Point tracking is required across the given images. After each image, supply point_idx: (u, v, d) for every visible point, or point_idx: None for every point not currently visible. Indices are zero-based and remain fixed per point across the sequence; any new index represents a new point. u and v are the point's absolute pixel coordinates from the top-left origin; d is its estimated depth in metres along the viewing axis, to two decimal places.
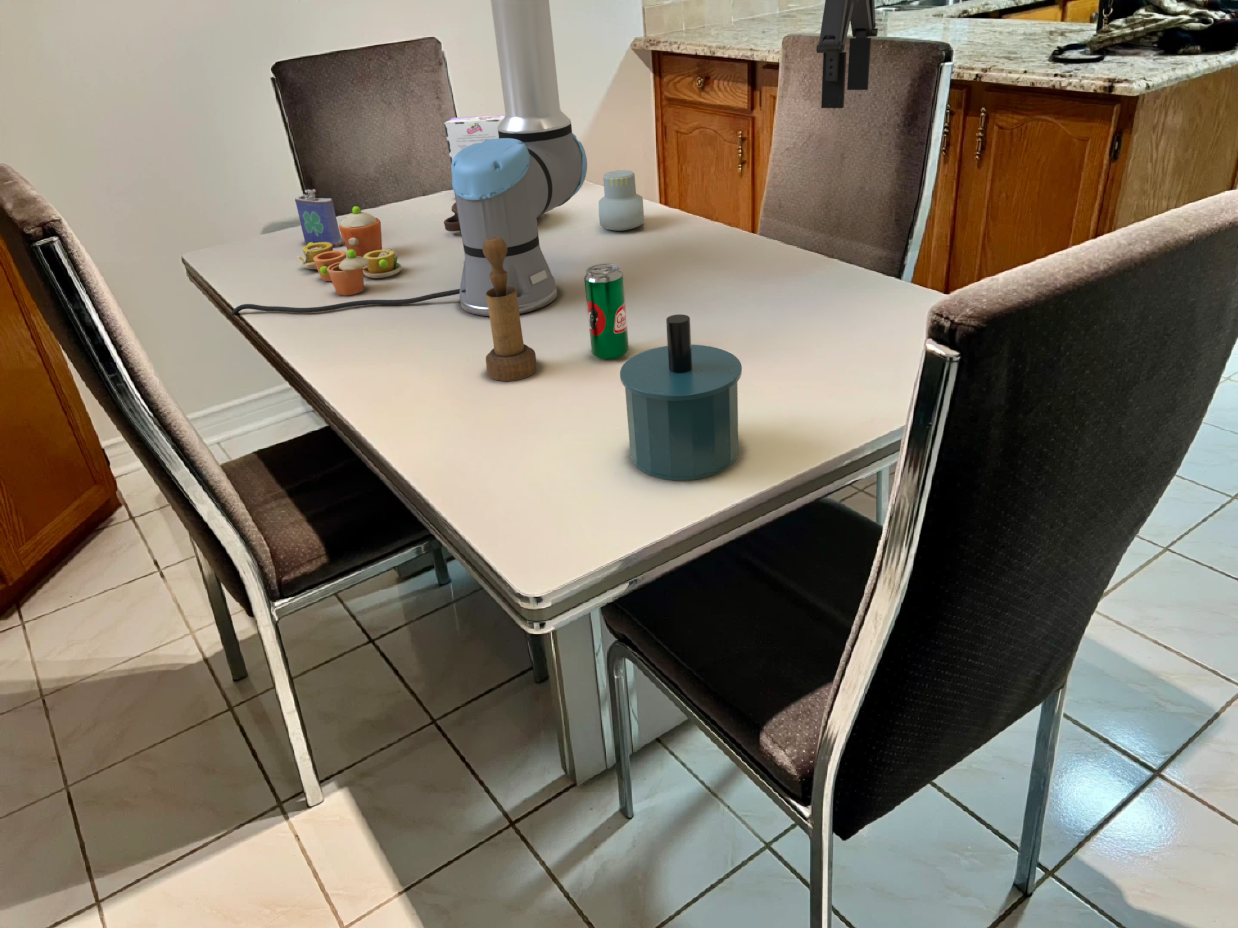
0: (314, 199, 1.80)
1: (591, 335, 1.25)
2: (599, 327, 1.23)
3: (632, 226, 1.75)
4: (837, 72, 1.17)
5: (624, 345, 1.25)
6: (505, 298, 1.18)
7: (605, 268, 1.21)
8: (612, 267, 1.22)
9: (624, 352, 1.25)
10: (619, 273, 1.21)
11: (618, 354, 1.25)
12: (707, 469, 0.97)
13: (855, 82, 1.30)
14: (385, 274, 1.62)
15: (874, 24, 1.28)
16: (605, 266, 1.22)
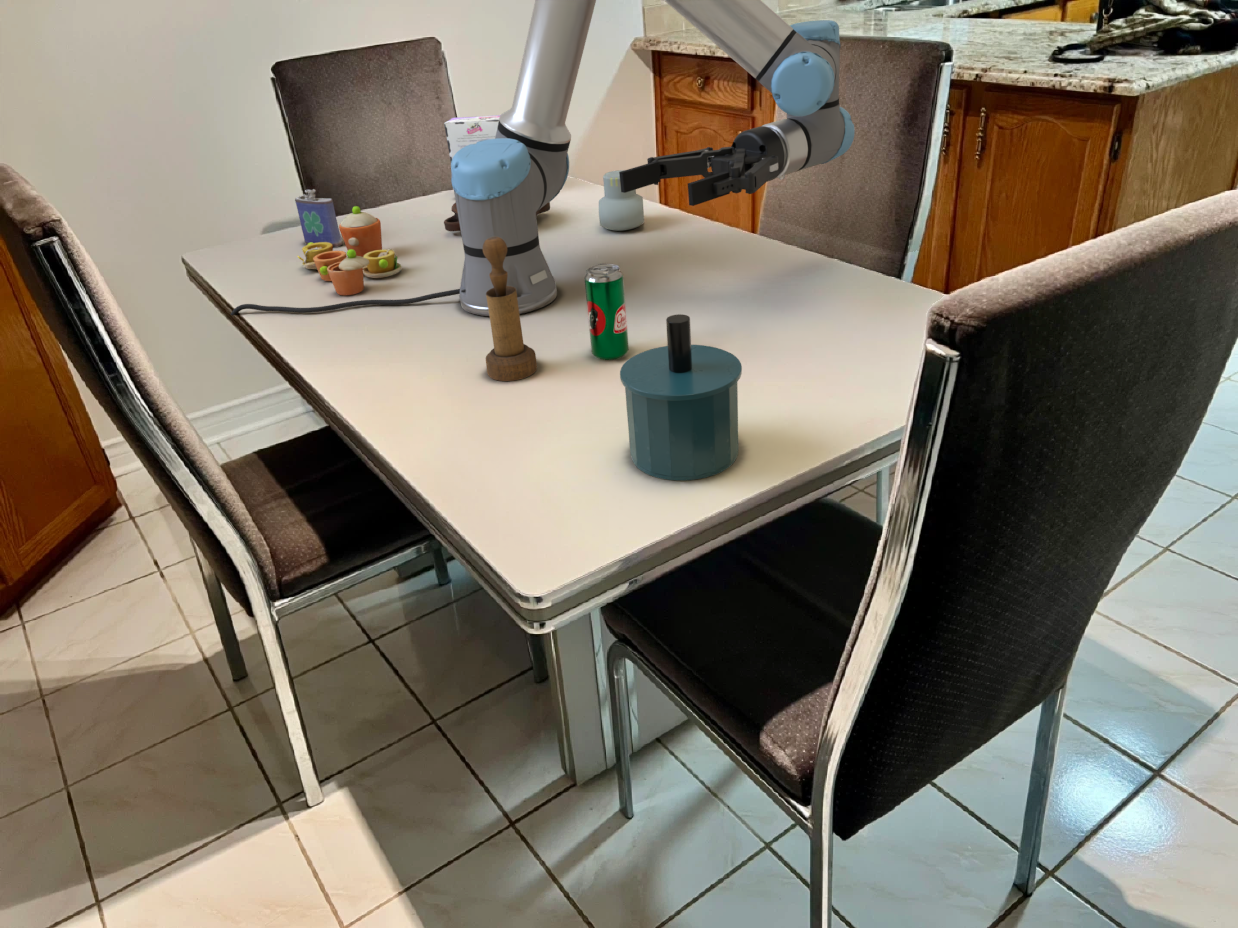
0: (314, 199, 1.80)
1: (591, 335, 1.25)
2: (599, 327, 1.23)
3: (632, 226, 1.75)
4: None
5: (624, 345, 1.25)
6: (505, 298, 1.18)
7: (605, 268, 1.21)
8: (612, 267, 1.22)
9: (624, 352, 1.25)
10: (619, 273, 1.21)
11: (618, 354, 1.25)
12: (707, 469, 0.97)
13: (628, 179, 1.27)
14: (385, 274, 1.62)
15: None
16: (605, 266, 1.22)
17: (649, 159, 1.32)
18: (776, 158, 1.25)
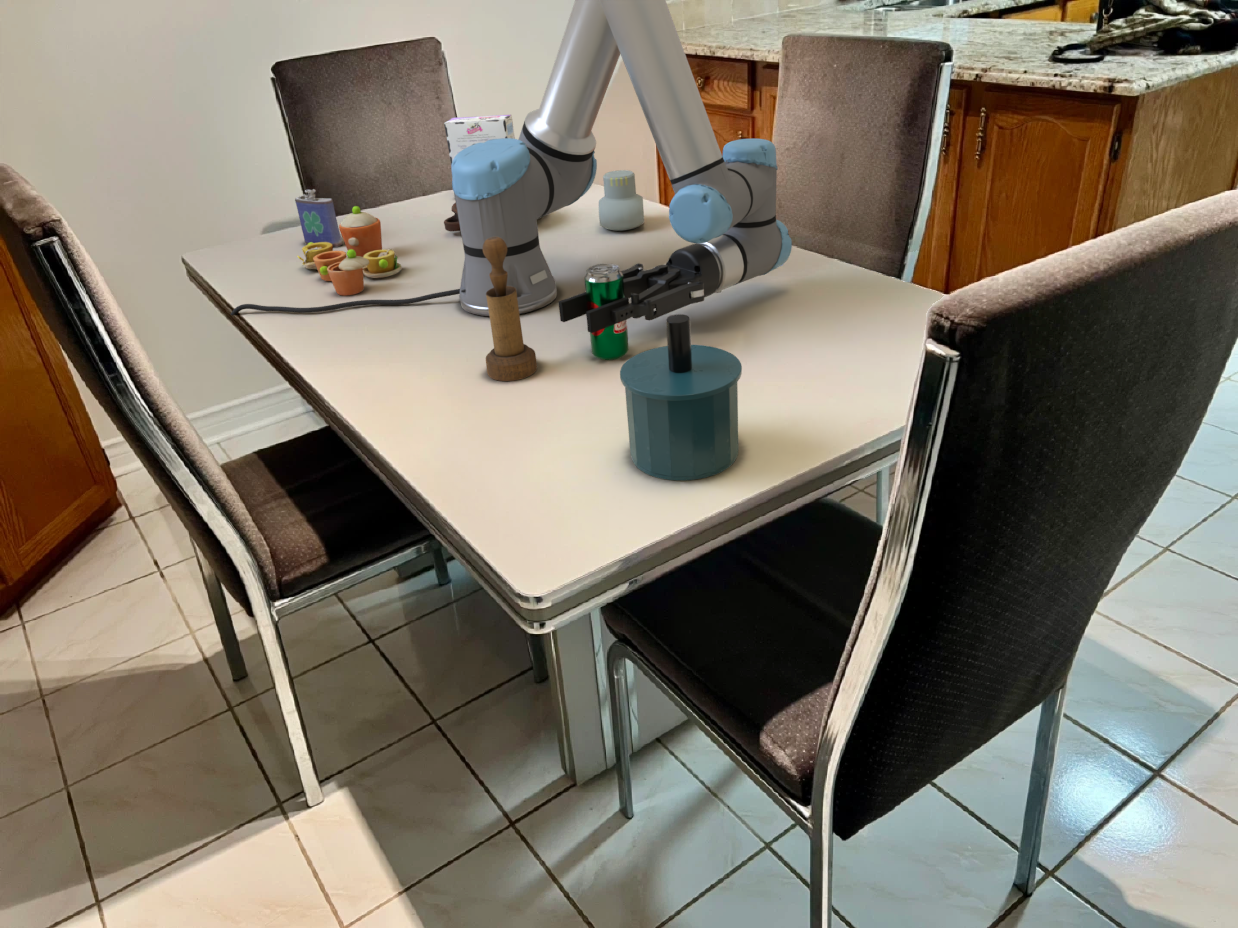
0: (314, 199, 1.80)
1: (591, 335, 1.25)
2: None
3: (632, 226, 1.75)
4: None
5: (624, 345, 1.25)
6: (505, 298, 1.18)
7: (605, 268, 1.21)
8: (612, 267, 1.22)
9: (624, 352, 1.25)
10: (619, 273, 1.21)
11: (618, 354, 1.25)
12: (707, 469, 0.97)
13: (568, 308, 1.23)
14: (385, 274, 1.62)
15: None
16: (605, 266, 1.22)
17: None
18: (700, 285, 1.24)
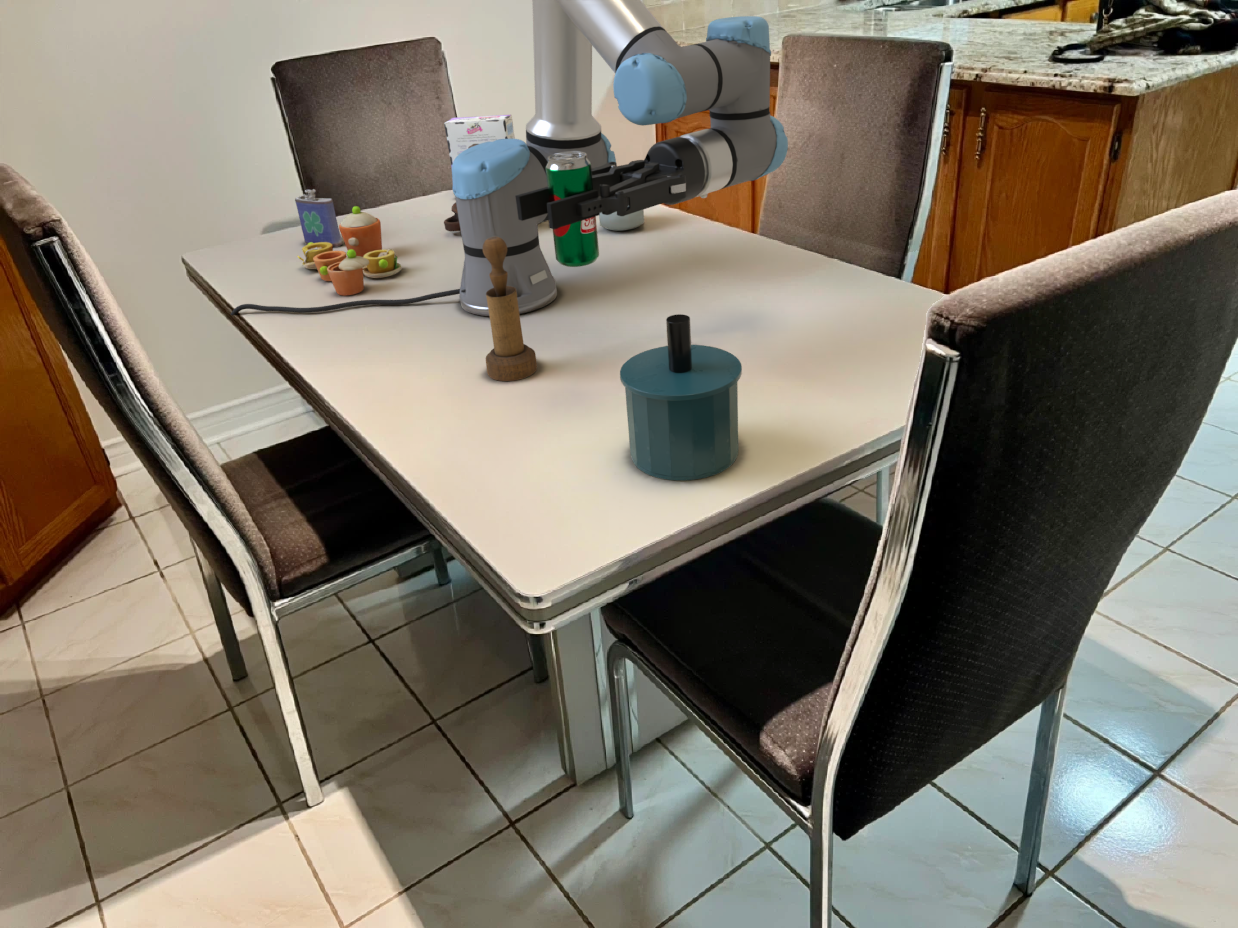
0: (314, 199, 1.80)
1: (555, 237, 1.07)
2: (563, 226, 1.05)
3: (632, 226, 1.75)
4: None
5: (593, 248, 1.07)
6: (505, 298, 1.18)
7: (570, 155, 1.03)
8: (578, 154, 1.04)
9: (593, 257, 1.07)
10: (586, 160, 1.03)
11: (586, 259, 1.07)
12: (707, 469, 0.97)
13: (527, 204, 1.05)
14: (385, 274, 1.62)
15: None
16: (570, 153, 1.04)
17: None
18: (681, 178, 1.07)
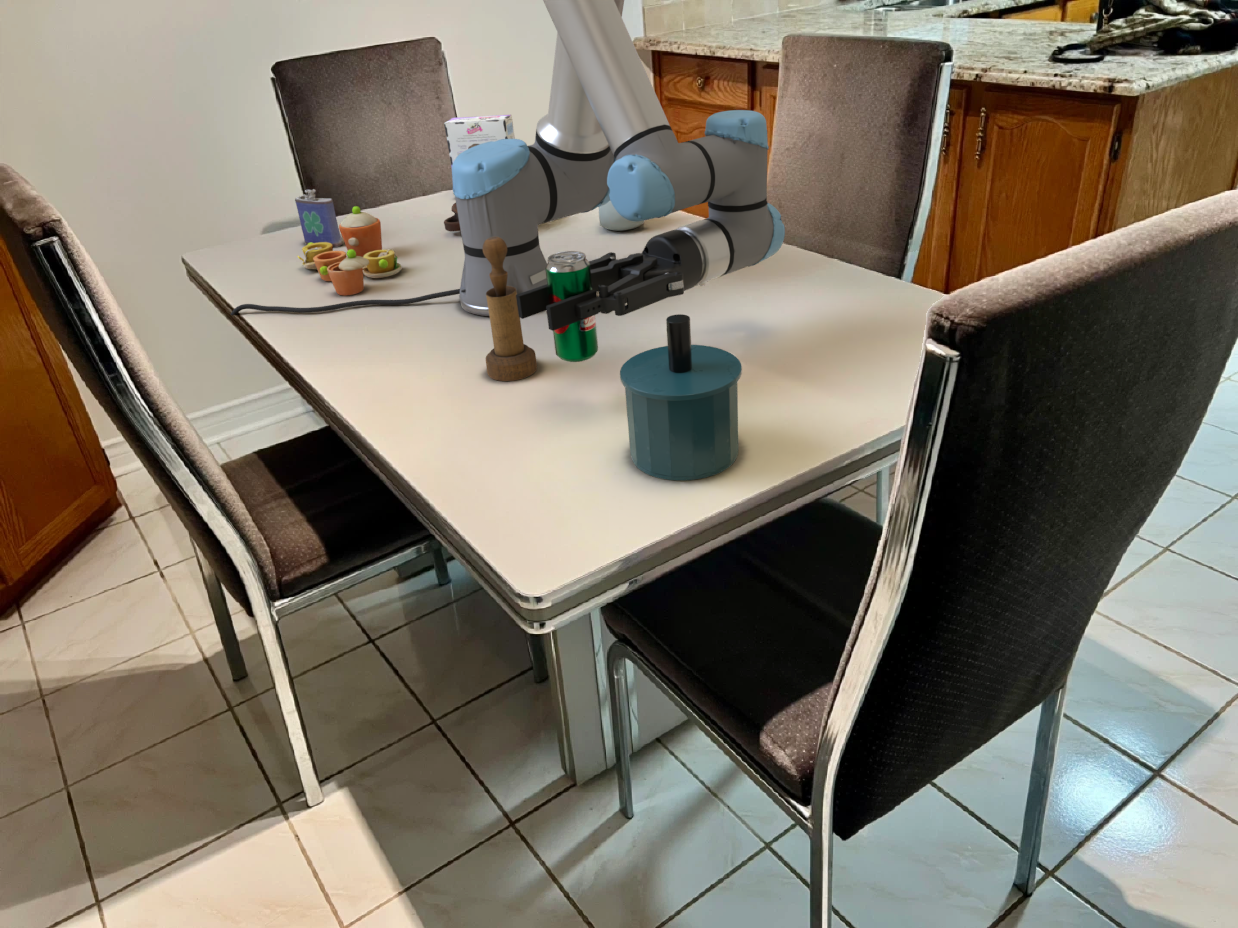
0: (314, 199, 1.80)
1: (554, 333, 1.09)
2: None
3: (632, 226, 1.75)
4: None
5: (592, 345, 1.09)
6: (505, 298, 1.18)
7: (569, 256, 1.05)
8: (577, 255, 1.06)
9: (592, 353, 1.09)
10: (585, 262, 1.05)
11: (585, 355, 1.09)
12: (707, 469, 0.97)
13: (527, 303, 1.07)
14: (385, 274, 1.62)
15: None
16: (569, 254, 1.06)
17: None
18: (678, 276, 1.09)
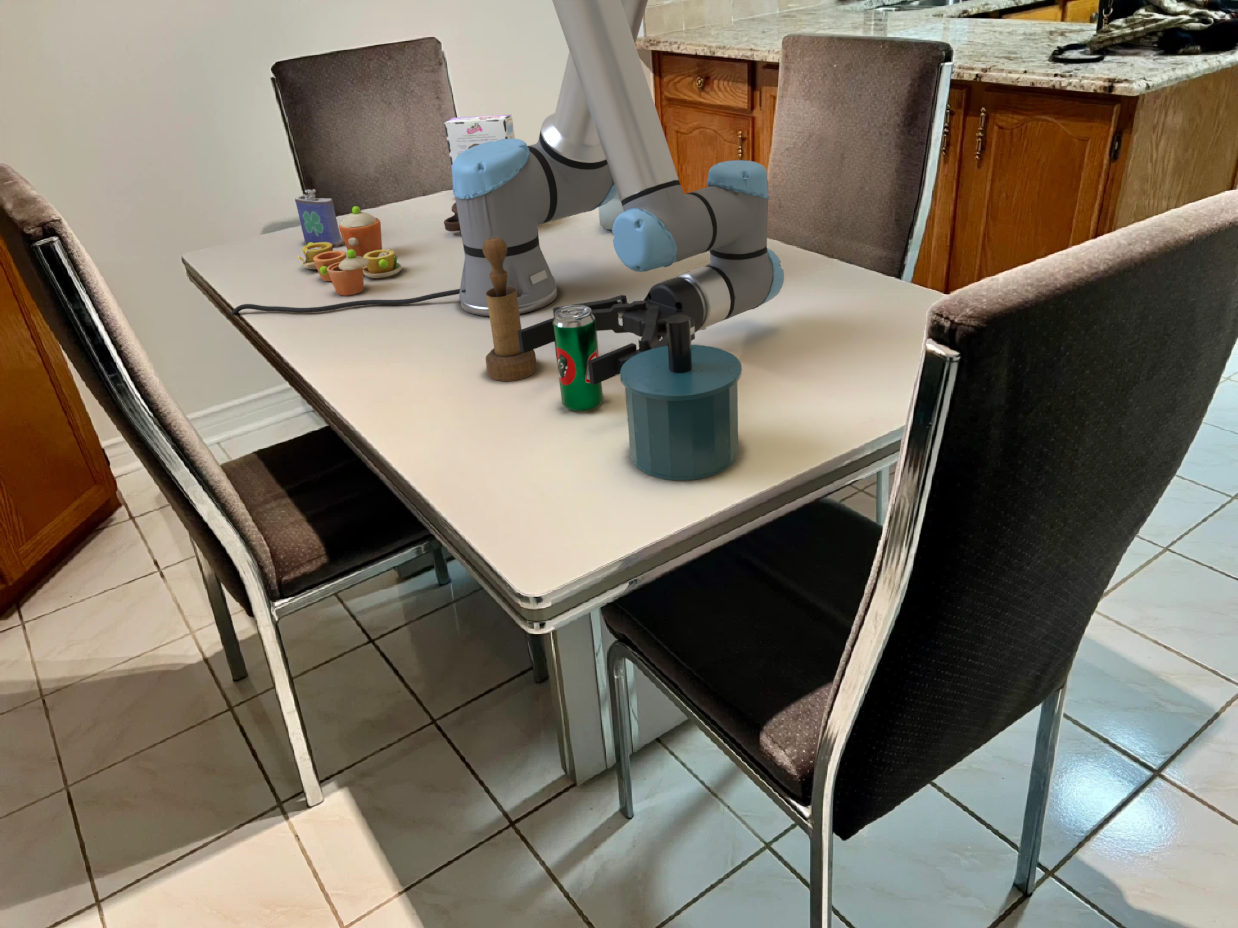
0: (314, 199, 1.80)
1: (561, 384, 1.12)
2: (569, 376, 1.10)
3: None
4: None
5: (597, 395, 1.12)
6: (505, 298, 1.18)
7: (575, 311, 1.09)
8: (583, 310, 1.09)
9: (597, 403, 1.13)
10: (591, 317, 1.08)
11: (591, 405, 1.12)
12: (707, 469, 0.97)
13: (528, 338, 1.14)
14: (385, 274, 1.62)
15: None
16: (575, 308, 1.09)
17: (555, 310, 1.19)
18: (692, 322, 1.12)
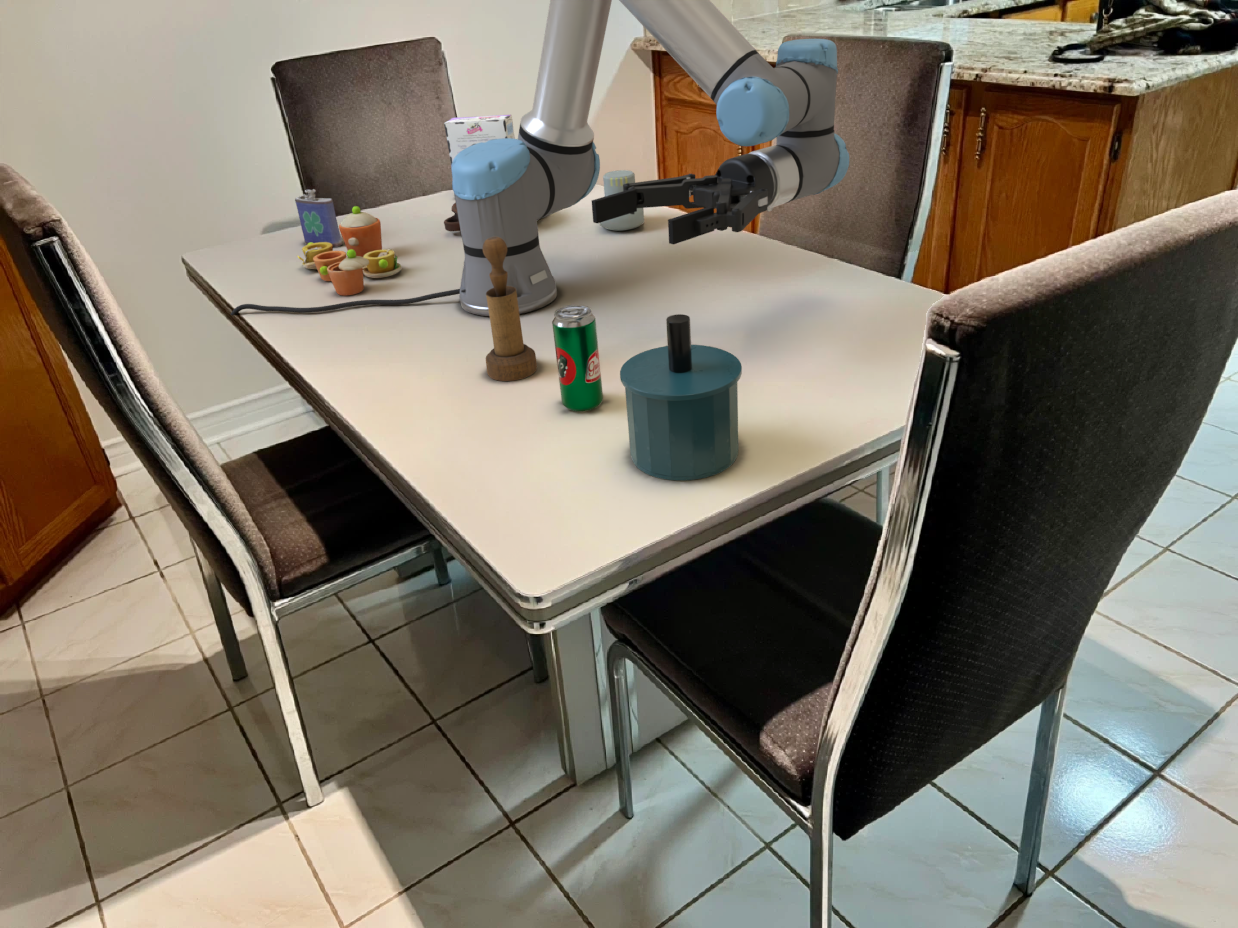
0: (314, 199, 1.80)
1: (561, 384, 1.12)
2: (569, 376, 1.10)
3: (632, 226, 1.75)
4: None
5: (597, 395, 1.12)
6: (505, 298, 1.18)
7: (575, 311, 1.09)
8: (583, 310, 1.09)
9: (597, 403, 1.13)
10: (591, 317, 1.08)
11: (591, 405, 1.12)
12: (707, 469, 0.97)
13: (602, 208, 1.14)
14: (385, 274, 1.62)
15: None
16: (575, 308, 1.09)
17: (625, 185, 1.19)
18: (765, 191, 1.13)
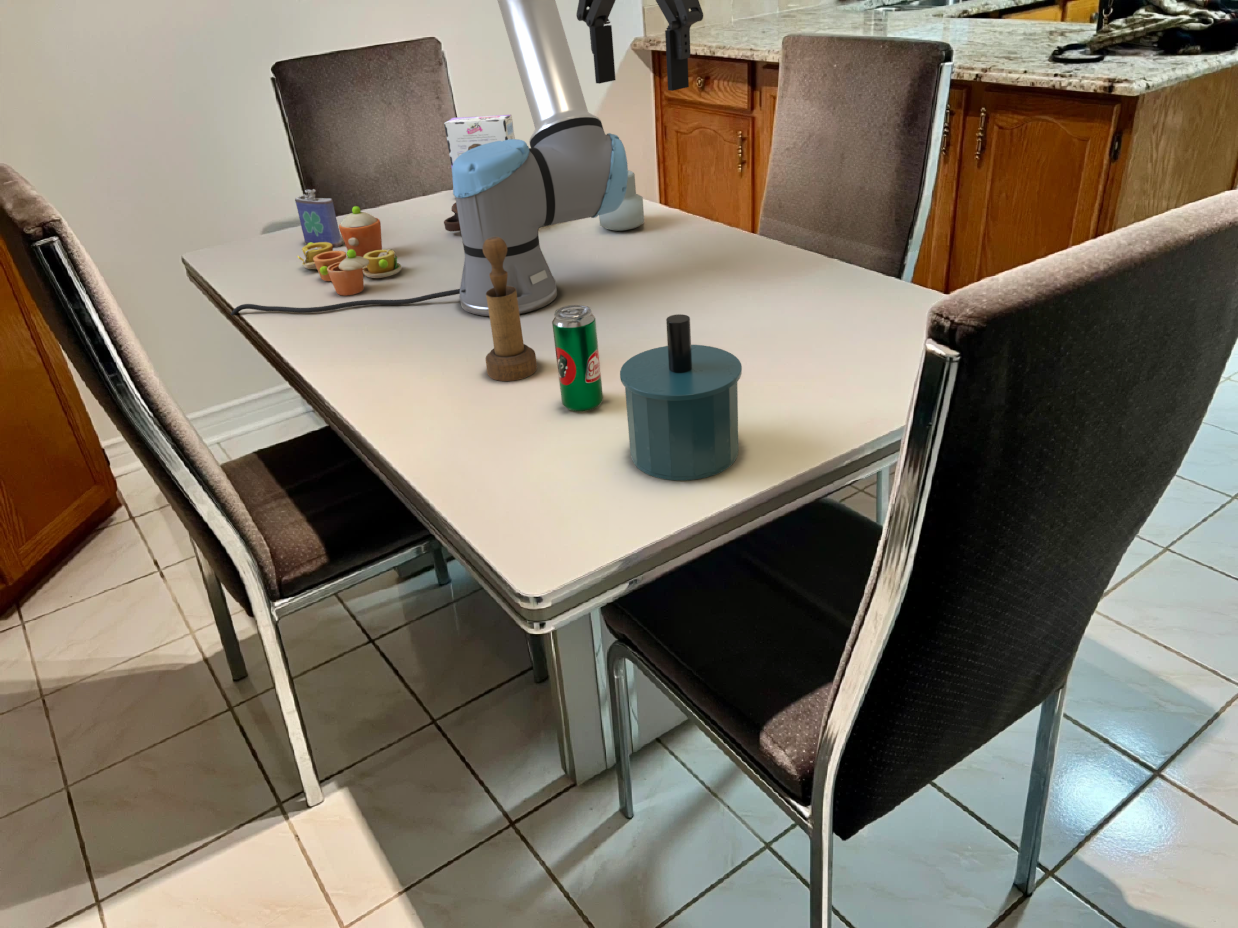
0: (314, 199, 1.80)
1: (561, 384, 1.12)
2: (569, 376, 1.10)
3: (632, 226, 1.75)
4: (593, 45, 1.19)
5: (597, 395, 1.12)
6: (505, 298, 1.18)
7: (575, 311, 1.09)
8: (583, 310, 1.09)
9: (597, 403, 1.13)
10: (591, 317, 1.08)
11: (591, 405, 1.12)
12: (707, 469, 0.97)
13: None
14: (385, 274, 1.62)
15: (682, 17, 1.06)
16: (575, 308, 1.09)
17: None
18: None
